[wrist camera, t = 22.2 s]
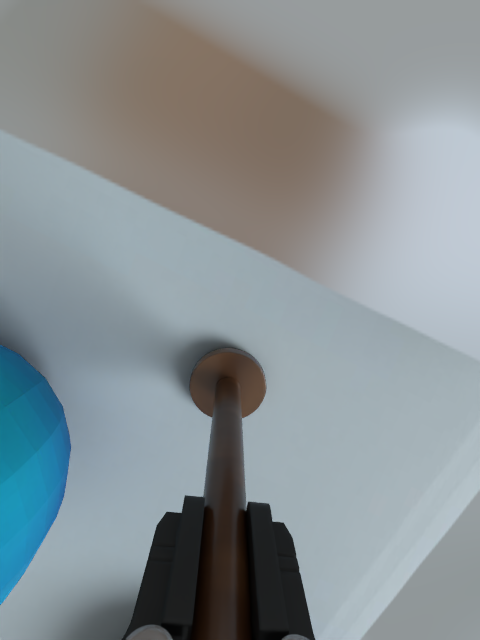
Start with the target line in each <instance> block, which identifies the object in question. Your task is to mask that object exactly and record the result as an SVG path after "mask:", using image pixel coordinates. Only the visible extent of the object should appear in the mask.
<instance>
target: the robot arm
mask: <svg viewBox="0 0 480 640" xmlns="http://www.w3.org/2000/svg"><path fill="white" fill-rule="evenodd" d="M204 506H205V497H196V496H186V495H185V498H184V504H183V509H182V513H174V512H166V514H165V515H164V516H163V518H162V519H161V521H160V522H159V523H158V525H157V527H156V531H155V534H154V538H153V542H152V546H151V549H150V553H149V557H148V560H147V564H146V568H145V572H144V575H143V579H142V583H141V587H140V590H139V594H138V598H137V601H136V605H135V609H134V613H133V616H132V620H131V623H130V625H129V628H128V630H127V632H126V633H125V635H124V637H123V638H122V640H190V637H191V631H192V624H193V614H194V604H195V594H196V585H197V575H198V565H199V555H200V545H201V535H202V525H203V516H204ZM246 518H247V539H248V560H249V580H250V601H251V622H252V640H315V638H314V634H313V630H312V626H311V621H310V616H309V612H308V607H307V603H306V598H305V593H304V589H303V584H302V580H301V575H300V573H299V566H298V561H297V558H296V552H295V547H294V543H293V538H292V536H291V534H290V533H289V531H288V529H287V528H286V526H285V524H284V523H281V522H272V516H271V509H270V505H269V504H267V503H257V502H248V505H247V510H246Z"/></svg>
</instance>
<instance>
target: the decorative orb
mask: <svg viewBox="0 0 480 640" xmlns="http://www.w3.org/2000/svg"><path fill="white" fill-rule="evenodd" d="M70 451H71V444H70V436H69V431H68V427H67V423H66V419H65V414H64V410H63V406H62V405H61V403H60V401H59V400H58V398H57V396H56V395H55V393H54V392H53V390H52V388H51V387H50V385H49V383H48V382H47V380H46V379H45V377H43V376H42V375H41V374H40V373H39V372H38V371H37V370H36V369H35V368H33V367H32V366H31V365H30V364H29V363H28V362H27V361H26V360H25V359H24V358H22V357H21V356H20V355H19V354H18V353H16V352H14V351H12V350H10V349H8V348H6V347H4V346H2V345H0V605H1V604H2V603H3V601H4V600H5V599H6V597H7V596H8V595H9V593H10V592H11V590H12V589H13V588H14V586H15V585H16V584H17V582H18V581H19V580H20V578H21V577H22V575H23V574H24V572H25V571H26V569H27V567H28V566H29V564H30V562H31V560H32V559H33V557H34V555H35V554H36V552H37V550H38V548H39V547H40V545H41V543H42V542H43V540H44V538H45V536H46V535H47V533H48V531H49V529H50V527H51V526H52V524H53V522H54V520H55V518H56V517H57V514H58V511H59V508H60V506H61V503H62V500H63V497H64V492H65V486H66V480H67V473H68V466H69V458H70Z"/></svg>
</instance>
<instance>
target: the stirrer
mask: <svg viewBox="0 0 480 640" xmlns="http://www.w3.org/2000/svg"><path fill="white" fill-rule="evenodd" d="M190 393H191V397H192V399H193V401H194V403H195V404H196V406H197V407H198V408H199V409H200V410H201V411H202V412H203V413H204V414H206V415H208V416H210V417H212V425H211V434H210V443H209V452H208V460H207V469H206V478H205V487H204V496H203V497H205V506H204V516H203V525H202V535H201V545H200V555H199V565H198V575H197V585H196V594H195V604H194V614H193V624H192V631H191V637H190V640H252V622H251V601H250V580H249V560H248V539H247V518H246V493H245V473H244V452H243V432H242V418H244V417H246V416H248V415H250V414H251V413H253V412H254V411H255V410H256V409H257V408H258V407H259V406H260V404H261V403H262V401H263V399H264V396H265V393H266V380H265V375H264V371H263V369H262V367H261V365H260V364H259V362H258V361H257V360H256V359H255V358H254V357H253V356H251V355H250V354H248V353H247V352H245V351H242V350H239V349H234V348H222V349H217V350H214V351H212V352H210V353H208V354H206V355H205V356H203V357H202V358H201V359H200V360H199V361H198V363H197V364H196V366H195V367H194V370H193V372H192V376H191V379H190Z"/></svg>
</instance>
